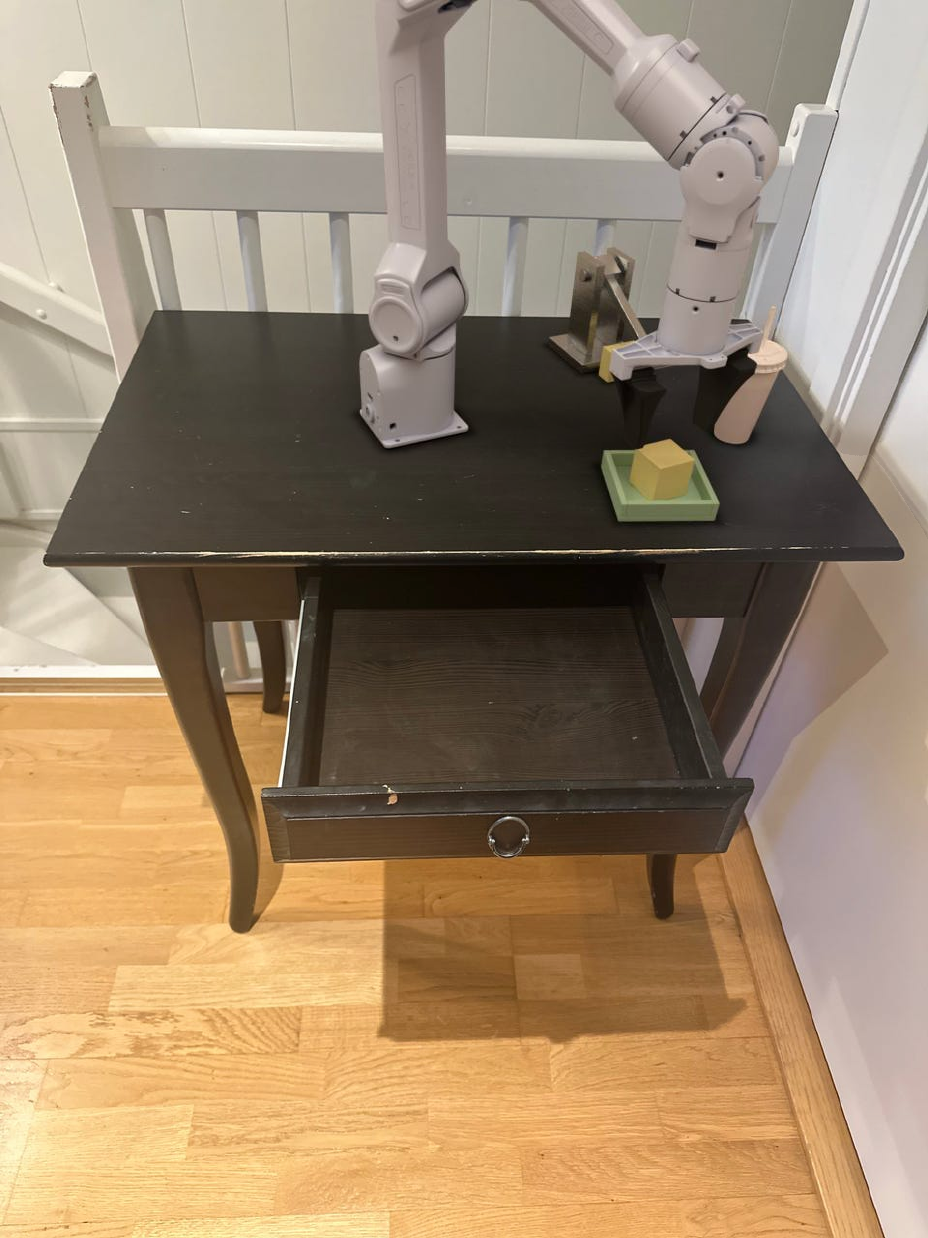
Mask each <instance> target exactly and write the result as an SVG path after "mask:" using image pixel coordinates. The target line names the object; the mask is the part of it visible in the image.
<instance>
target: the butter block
mask: <svg viewBox="0 0 928 1238" xmlns="http://www.w3.org/2000/svg"><path fill="white" fill-rule="evenodd" d="M632 342H635V341H634V340H630V341H625V342H624V343H619V344H614V345H609V346H604V347H603V351H602V357H601V364H600V370H598V376H599V377H600V378H601V379H602V380H604V381H605V382H606V383H608V384H609V383H613V382H614V379H613V377H612V374H611V372H610V371H609V366H610V360H611V354H612V349H615V348H619V347H623V346H626V345H628V344H630V343H632Z"/></svg>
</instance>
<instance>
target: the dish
mask: <svg viewBox="0 0 928 1238" xmlns="http://www.w3.org/2000/svg"><path fill="white" fill-rule="evenodd" d="M635 450H636V449H611V450H609V449H605V450H603V452H602V453H603V454H602V460H601V464H600V468H601V471H602V474H603V477H604V481H605V484H606V487H607V490H608V493H609V496H610V499H611V502H612V506H613V509H614V512H615V516H616V518H617V521H618V522H714V521H715V520H716V517H717V514H718V512H719V511H718V510H719V508H720V504H721V503H720V501H719V499H718V497H717V495H716V492H715V490H714V488H713V487H712V484H711V482H710V480H709V478H708V476H707V473H706V472H705V470H704V468H703V465H702V463H701V462H700V459H699V457H698V455H697V453H696V451H695V449H683V450H684V451H685V452H686V453H688V454H689V455H690V456H691V457H692V458H694V459H695V462H694V466H693V470H692V474H691V478H690V481H689V485H688V489H687V493H686V495H684V496H680V497H676V498H673V499H669V500H647V499H646V498H645V497H644V496H643V495H642V494H641V493H640V492H639V491H638V490H637V489H636V488H635V487H633V486H632V485H631V484H630V483H629V480H630V475H631V470H632V465H633V460H634V455H635Z"/></svg>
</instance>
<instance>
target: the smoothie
mask: <svg viewBox="0 0 928 1238" xmlns="http://www.w3.org/2000/svg"><path fill="white" fill-rule="evenodd" d="M776 312H777V306H773V305H772V306H770V308H769V312H768V315H767V318H766V322H765V325H764V329H763V331H764V336H763V339H762V342H761V346H760V349H759V352H758V353H753V354H749V353H748V357H750V358H751V359H753V360H754V361H755V362H756V363H757V367H756V370H755V374H754V375H753V376H752V377H750V378H749V379H748V380H747V381H746V382H745V383H744V384H743V385H742V386H741V387H740V388H739V390H738V391H737V392H736V393H735V394H734V396H733V397H732V398H731V400H730V401H729V403H728V404H727V406H726V407H725V409H724V410H723V412H722V414H721V415H720V417H719V419H718V420H717V422H716V424H715V426H714V427H713V434H714V436H715V438H717V440H719V441H722V442H724V443H728V444H731V445H732V444H733V445H739V444H744V443H746V442H747V441H748V440H749V439H750V437H751V435H752V432H753V431H754V428H755V426H756V423H757V422H758V419H759V417H760V415H761V412H763V411H762V410H763V408H764V406H765V404H766V401H767V399H768V397H769V395H770V393H771V390H772V388H773V386H774V385H775V382H776V380H777V377H778V375H779V373H780V371H781V370H783V369H784V368H785V367H786V364H787V359H788V357H789V356H788V355H789V354H788V352H787V350H786V349H785V348H784V347H783V346H782V345H781V344H779V343H777V342H776V341H773V340H770V339H769V335H770V332H771V329H772V325H773V322H774V318H775V316H776Z"/></svg>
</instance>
